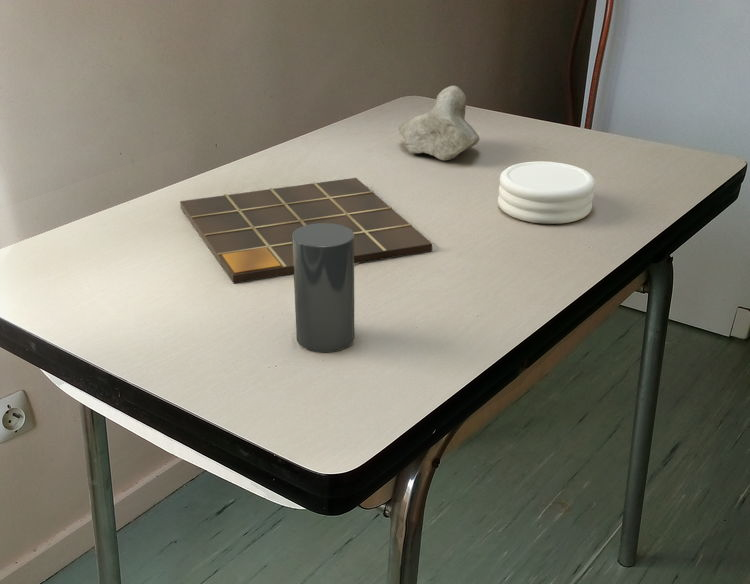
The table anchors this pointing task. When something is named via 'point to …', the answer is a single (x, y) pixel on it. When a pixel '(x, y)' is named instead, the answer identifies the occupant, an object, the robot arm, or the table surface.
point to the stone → (441, 127)
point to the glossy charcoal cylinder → (324, 286)
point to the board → (297, 225)
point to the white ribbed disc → (546, 192)
